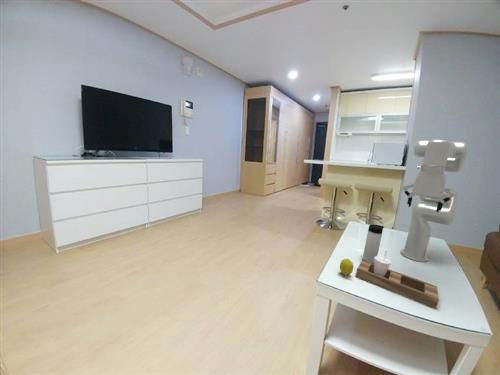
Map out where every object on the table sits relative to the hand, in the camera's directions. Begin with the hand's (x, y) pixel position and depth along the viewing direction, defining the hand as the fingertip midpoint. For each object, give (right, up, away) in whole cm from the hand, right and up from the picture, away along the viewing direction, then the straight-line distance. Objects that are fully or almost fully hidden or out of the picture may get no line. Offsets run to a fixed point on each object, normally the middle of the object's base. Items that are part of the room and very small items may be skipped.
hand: (422, 208), depth 93 cm
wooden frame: (-14, -33, -1) cm, 36 cm away
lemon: (-32, -31, +4) cm, 45 cm away
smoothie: (-18, -32, +3) cm, 37 cm away
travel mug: (-13, -30, +18) cm, 37 cm away
